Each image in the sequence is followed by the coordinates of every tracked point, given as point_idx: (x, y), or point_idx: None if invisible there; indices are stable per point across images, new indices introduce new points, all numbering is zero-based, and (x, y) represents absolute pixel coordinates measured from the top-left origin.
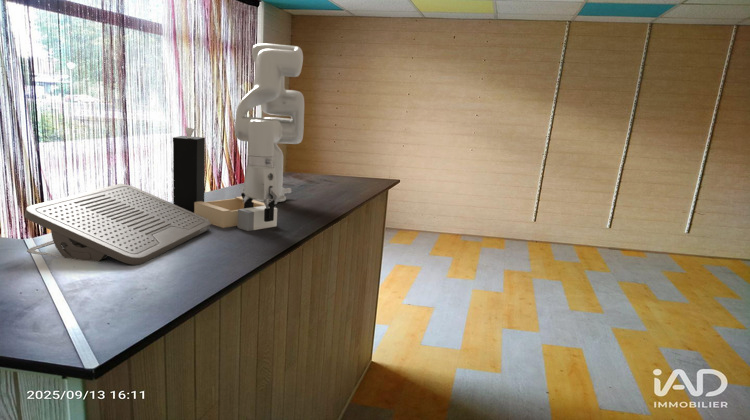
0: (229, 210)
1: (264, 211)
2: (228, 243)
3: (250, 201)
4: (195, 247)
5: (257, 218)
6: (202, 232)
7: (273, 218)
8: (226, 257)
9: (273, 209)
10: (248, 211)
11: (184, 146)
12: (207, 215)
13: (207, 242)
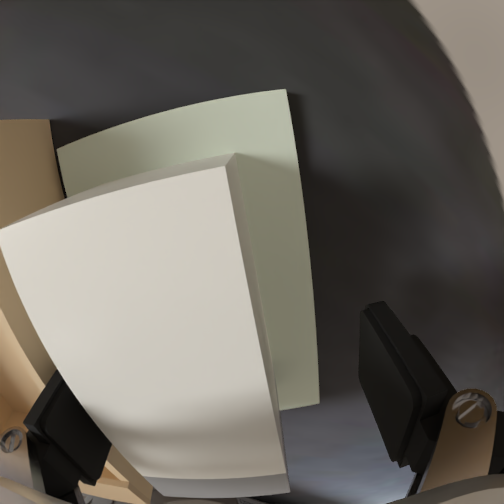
0: (130, 490)
1: (390, 444)
2: (351, 452)
3: (54, 463)
4: (324, 494)
5: (275, 401)
6: (249, 498)
7: (389, 309)
8: None
9: (434, 378)
10: (253, 487)
11: None
12: None
13: (301, 481)
